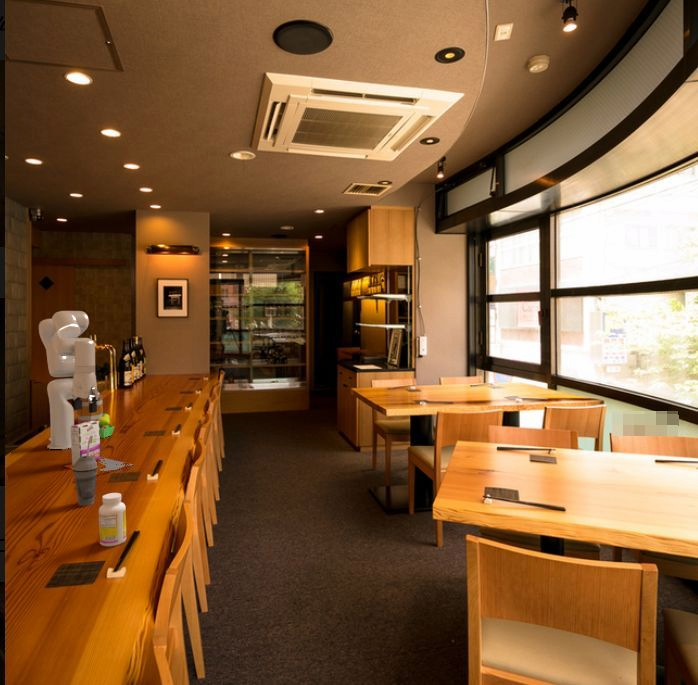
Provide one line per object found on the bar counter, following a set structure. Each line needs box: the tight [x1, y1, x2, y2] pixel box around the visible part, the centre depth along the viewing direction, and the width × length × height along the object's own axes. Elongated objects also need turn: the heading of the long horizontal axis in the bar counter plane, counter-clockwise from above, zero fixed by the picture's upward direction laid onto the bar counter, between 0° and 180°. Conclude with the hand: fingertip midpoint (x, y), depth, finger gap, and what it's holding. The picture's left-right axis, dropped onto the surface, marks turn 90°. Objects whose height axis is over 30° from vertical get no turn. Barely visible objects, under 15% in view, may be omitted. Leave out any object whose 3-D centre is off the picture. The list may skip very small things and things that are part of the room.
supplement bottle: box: [98, 492, 127, 547], centre depth 140 cm, size 7×7×13 cm
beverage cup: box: [72, 443, 98, 507], centre depth 168 cm, size 7×7×20 cm
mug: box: [76, 394, 104, 425], centre depth 298 cm, size 20×14×15 cm
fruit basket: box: [98, 413, 115, 439], centre depth 261 cm, size 11×9×11 cm
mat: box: [70, 457, 134, 471], centre depth 210 cm, size 24×16×1 cm, turn 60°
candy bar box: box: [70, 421, 102, 466], centre depth 214 cm, size 11×5×16 cm, turn 164°
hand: (85, 410), depth 213 cm, fingers open, 9 cm apart
